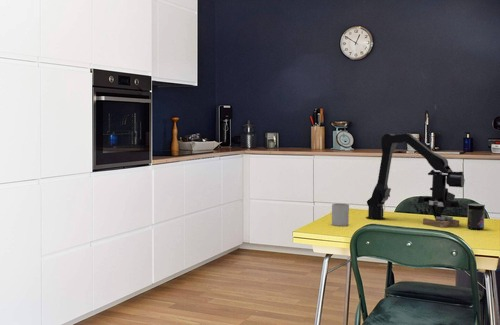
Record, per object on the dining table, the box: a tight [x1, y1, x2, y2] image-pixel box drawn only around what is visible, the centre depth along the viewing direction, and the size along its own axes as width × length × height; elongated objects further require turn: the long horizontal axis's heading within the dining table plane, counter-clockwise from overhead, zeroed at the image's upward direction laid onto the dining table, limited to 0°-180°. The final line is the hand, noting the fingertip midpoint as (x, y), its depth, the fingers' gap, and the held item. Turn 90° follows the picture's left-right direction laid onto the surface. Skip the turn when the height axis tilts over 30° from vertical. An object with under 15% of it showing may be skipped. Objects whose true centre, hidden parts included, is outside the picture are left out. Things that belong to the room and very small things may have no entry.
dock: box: [422, 217, 460, 229], centre depth 275 cm, size 10×11×3 cm
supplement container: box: [466, 203, 486, 231], centre depth 265 cm, size 7×7×10 cm
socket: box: [435, 215, 454, 221], centre depth 274 cm, size 5×5×4 cm
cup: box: [331, 203, 350, 227], centre depth 273 cm, size 7×10×9 cm
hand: (437, 220), depth 277 cm, fingers closed
